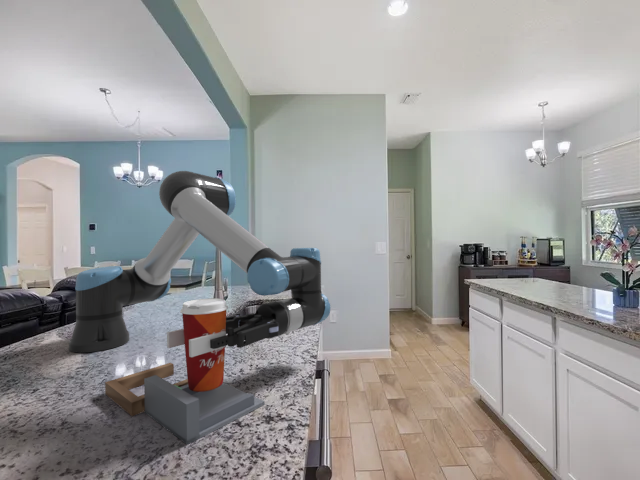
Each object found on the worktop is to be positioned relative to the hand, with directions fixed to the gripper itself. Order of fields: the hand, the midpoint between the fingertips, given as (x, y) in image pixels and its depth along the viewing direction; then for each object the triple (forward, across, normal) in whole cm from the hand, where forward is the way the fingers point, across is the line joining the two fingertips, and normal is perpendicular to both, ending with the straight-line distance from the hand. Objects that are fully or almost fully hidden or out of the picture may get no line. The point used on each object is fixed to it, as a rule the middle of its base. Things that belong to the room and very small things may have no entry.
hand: (178, 344), depth 54 cm
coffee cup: (-5, 0, -9) cm, 10 cm away
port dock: (-5, 0, -13) cm, 14 cm away
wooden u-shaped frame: (-2, +15, -13) cm, 20 cm away
